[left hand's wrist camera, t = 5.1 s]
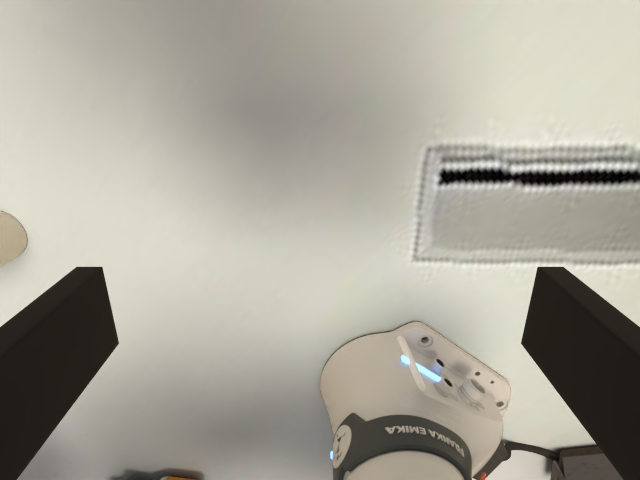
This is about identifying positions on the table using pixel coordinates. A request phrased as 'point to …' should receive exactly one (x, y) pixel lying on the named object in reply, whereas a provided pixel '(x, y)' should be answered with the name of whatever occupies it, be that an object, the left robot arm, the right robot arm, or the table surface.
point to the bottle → (11, 238)
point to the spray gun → (174, 478)
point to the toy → (584, 465)
